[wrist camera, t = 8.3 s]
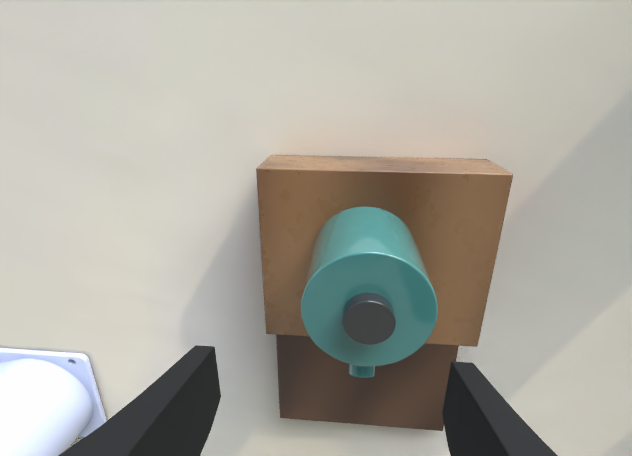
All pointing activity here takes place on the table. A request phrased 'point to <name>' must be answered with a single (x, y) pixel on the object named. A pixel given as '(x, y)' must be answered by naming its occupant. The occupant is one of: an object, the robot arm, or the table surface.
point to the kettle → (367, 291)
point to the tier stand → (437, 255)
